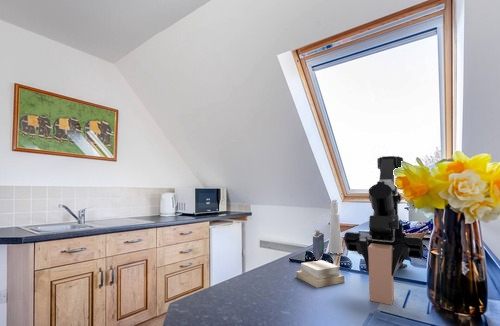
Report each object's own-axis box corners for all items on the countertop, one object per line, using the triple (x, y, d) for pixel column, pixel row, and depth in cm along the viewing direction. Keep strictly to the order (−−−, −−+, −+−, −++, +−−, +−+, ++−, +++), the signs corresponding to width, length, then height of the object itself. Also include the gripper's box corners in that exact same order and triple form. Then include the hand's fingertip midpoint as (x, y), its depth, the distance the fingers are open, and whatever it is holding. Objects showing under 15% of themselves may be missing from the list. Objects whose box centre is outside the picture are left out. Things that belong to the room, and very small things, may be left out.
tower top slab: (321, 267, 92) (321, 260, 92) (339, 275, 85) (339, 266, 85) (301, 271, 89) (301, 263, 89) (317, 279, 82) (317, 270, 82)
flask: (318, 261, 107) (318, 232, 108) (311, 260, 108) (310, 231, 109) (325, 256, 115) (324, 228, 116) (317, 255, 116) (317, 228, 117)
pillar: (372, 293, 75) (371, 243, 76) (393, 297, 73) (392, 245, 73) (369, 300, 71) (368, 246, 72) (392, 304, 68) (390, 249, 69)
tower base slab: (322, 274, 93) (322, 266, 93) (344, 284, 84) (344, 275, 84) (296, 279, 89) (296, 271, 89) (317, 290, 80) (316, 281, 80)
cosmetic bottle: (337, 255, 115) (336, 200, 117) (325, 252, 120) (323, 199, 122) (346, 253, 119) (344, 199, 121) (333, 250, 124) (332, 199, 125)
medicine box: (358, 251, 122) (357, 230, 123) (359, 249, 126) (359, 229, 126) (378, 253, 118) (378, 232, 119) (379, 251, 122) (378, 230, 123)
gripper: (344, 202, 82) (335, 250, 71) (420, 205, 72) (423, 260, 62) (351, 227, 88) (343, 274, 78) (422, 232, 78) (424, 286, 68)
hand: (380, 273), depth 71 cm, fingers closed on pillar, 5 cm apart
